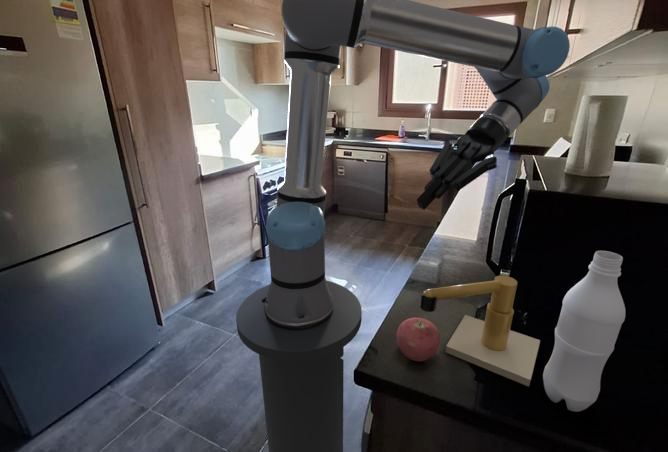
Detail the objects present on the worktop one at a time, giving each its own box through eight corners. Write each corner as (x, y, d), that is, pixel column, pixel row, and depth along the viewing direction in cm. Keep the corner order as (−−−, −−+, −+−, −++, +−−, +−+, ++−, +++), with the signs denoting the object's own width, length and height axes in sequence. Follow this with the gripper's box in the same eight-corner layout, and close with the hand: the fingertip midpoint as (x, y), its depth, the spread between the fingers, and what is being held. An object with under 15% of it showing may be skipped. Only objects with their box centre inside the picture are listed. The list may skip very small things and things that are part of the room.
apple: (446, 361, 62) (451, 324, 59) (414, 376, 58) (418, 338, 56) (418, 337, 68) (421, 303, 65) (388, 350, 65) (390, 314, 62)
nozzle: (502, 300, 63) (507, 273, 61) (516, 311, 60) (522, 283, 58) (415, 312, 60) (417, 285, 58) (424, 325, 56) (427, 296, 54)
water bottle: (537, 374, 59) (572, 241, 50) (588, 388, 56) (634, 249, 47) (541, 406, 53) (581, 261, 44) (597, 424, 50) (653, 272, 41)
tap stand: (445, 352, 64) (450, 310, 61) (464, 320, 73) (470, 283, 70) (529, 387, 56) (540, 341, 53) (538, 346, 65) (549, 305, 62)
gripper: (519, 151, 73) (447, 229, 70) (467, 132, 81) (401, 201, 78) (521, 125, 67) (443, 209, 64) (465, 107, 75) (393, 181, 73)
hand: (420, 204), depth 71 cm, fingers closed
